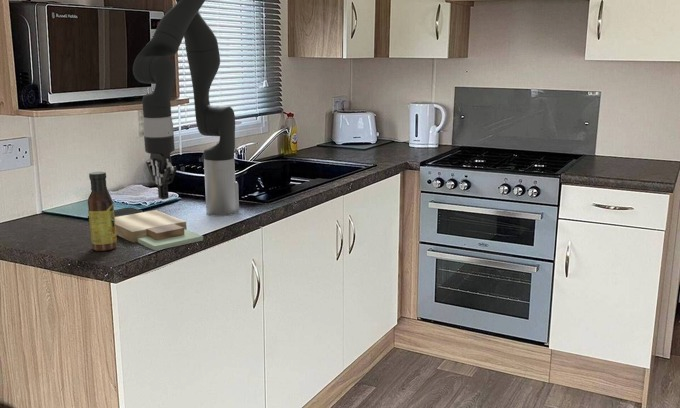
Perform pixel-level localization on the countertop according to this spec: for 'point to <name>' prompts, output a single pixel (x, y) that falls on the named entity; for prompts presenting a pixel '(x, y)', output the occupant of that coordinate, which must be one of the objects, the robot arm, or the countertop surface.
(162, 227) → the brown wooden block
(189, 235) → the sage mat
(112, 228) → the sauce bottle
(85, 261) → the countertop surface
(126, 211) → the phone
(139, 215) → the butcher block
